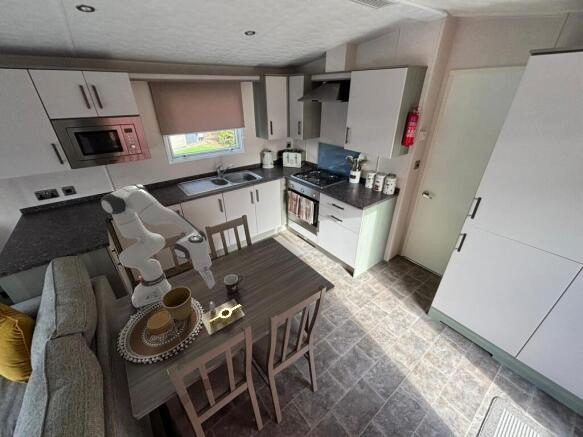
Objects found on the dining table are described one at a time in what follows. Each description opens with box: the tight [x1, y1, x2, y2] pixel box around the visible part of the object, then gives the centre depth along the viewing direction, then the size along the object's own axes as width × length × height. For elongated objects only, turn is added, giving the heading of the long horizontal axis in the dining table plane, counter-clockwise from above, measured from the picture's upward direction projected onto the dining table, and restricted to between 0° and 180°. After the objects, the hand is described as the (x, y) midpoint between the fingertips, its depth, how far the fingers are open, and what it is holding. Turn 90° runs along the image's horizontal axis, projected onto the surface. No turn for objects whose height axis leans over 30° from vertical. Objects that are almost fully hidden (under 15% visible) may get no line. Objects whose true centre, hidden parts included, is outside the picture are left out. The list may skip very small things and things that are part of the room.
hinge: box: [209, 304, 243, 328], centre depth 134 cm, size 18×6×5 cm, turn 127°
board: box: [200, 298, 245, 335], centre depth 138 cm, size 21×15×1 cm
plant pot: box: [161, 286, 192, 322], centre depth 134 cm, size 15×15×16 cm
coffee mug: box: [223, 274, 243, 294], centre depth 153 cm, size 12×9×10 cm
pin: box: [208, 300, 216, 315], centre depth 137 cm, size 3×3×8 cm
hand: (207, 282), depth 131 cm, fingers open, 8 cm apart
